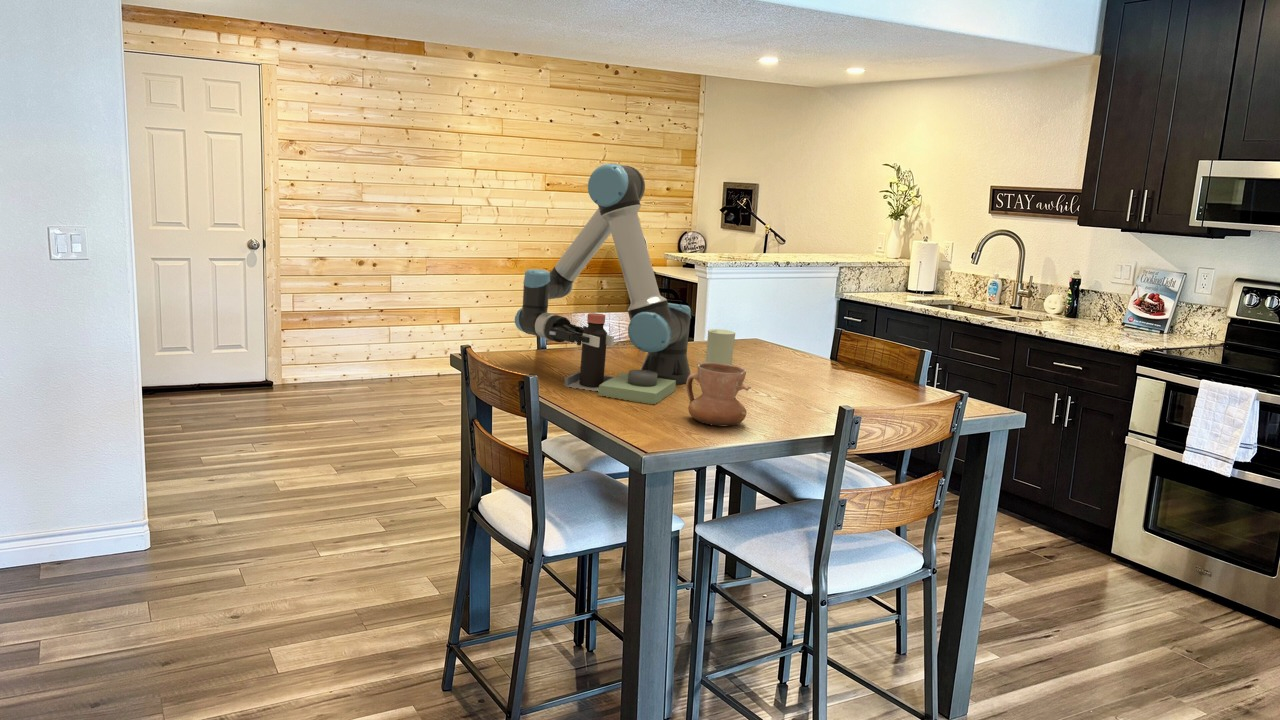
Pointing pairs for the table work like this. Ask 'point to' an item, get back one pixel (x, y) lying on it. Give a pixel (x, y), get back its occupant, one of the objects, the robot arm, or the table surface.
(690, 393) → the ceramic jug
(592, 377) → the vinegar
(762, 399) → the table surface
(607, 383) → the green slab with knob
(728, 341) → the can
